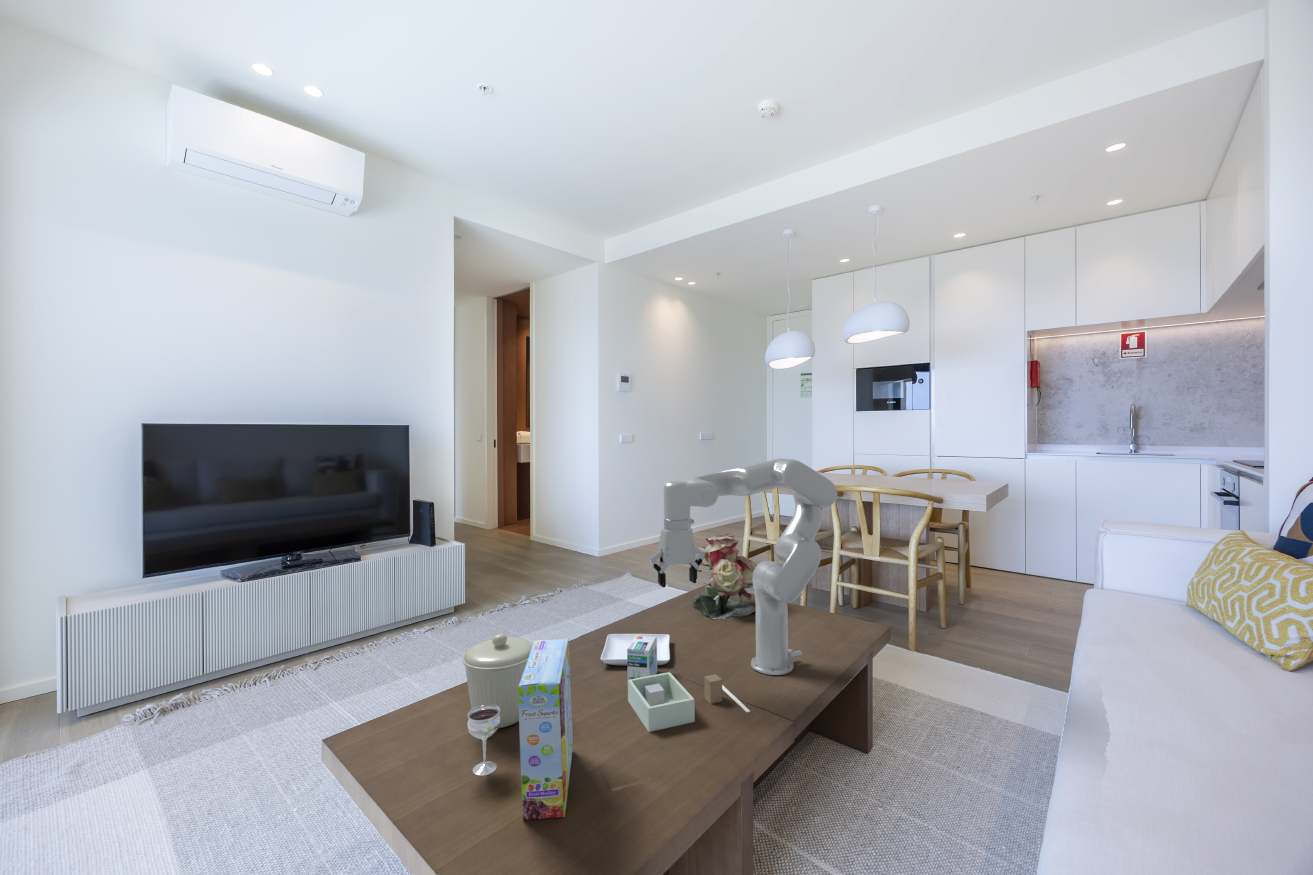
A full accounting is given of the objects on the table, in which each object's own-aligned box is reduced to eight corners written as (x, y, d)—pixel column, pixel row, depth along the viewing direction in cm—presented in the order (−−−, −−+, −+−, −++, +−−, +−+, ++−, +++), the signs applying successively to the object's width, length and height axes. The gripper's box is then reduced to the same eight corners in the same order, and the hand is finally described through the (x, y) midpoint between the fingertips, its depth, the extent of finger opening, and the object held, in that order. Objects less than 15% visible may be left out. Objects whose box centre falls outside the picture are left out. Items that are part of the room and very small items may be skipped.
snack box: (534, 752, 121) (533, 638, 120) (574, 750, 121) (572, 636, 121) (518, 822, 99) (515, 683, 99) (566, 819, 100) (563, 681, 100)
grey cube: (658, 698, 144) (658, 683, 143) (664, 705, 140) (664, 689, 140) (644, 700, 142) (644, 685, 142) (650, 708, 138) (649, 692, 138)
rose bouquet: (716, 624, 199) (715, 543, 199) (684, 601, 226) (683, 530, 226) (775, 615, 208) (774, 537, 208) (737, 594, 235) (736, 525, 235)
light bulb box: (650, 689, 150) (649, 650, 150) (626, 687, 151) (626, 648, 151) (657, 672, 160) (657, 636, 160) (635, 670, 162) (635, 634, 161)
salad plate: (669, 642, 183) (669, 632, 183) (670, 670, 162) (669, 659, 162) (607, 642, 184) (607, 632, 184) (599, 670, 163) (599, 659, 163)
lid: (679, 693, 148) (678, 669, 148) (720, 685, 153) (719, 661, 152) (705, 724, 133) (705, 696, 132) (750, 713, 137) (750, 687, 137)
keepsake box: (628, 702, 143) (627, 679, 142) (670, 693, 147) (669, 671, 147) (648, 733, 128) (648, 708, 128) (694, 723, 132) (694, 698, 132)
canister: (551, 705, 141) (549, 625, 141) (510, 743, 124) (509, 652, 124) (492, 695, 147) (491, 618, 147) (446, 730, 130) (445, 643, 130)
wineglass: (462, 777, 112) (461, 720, 112) (475, 758, 119) (474, 704, 119) (494, 778, 112) (493, 721, 112) (505, 758, 119) (504, 704, 118)
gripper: (697, 520, 161) (698, 577, 161) (644, 524, 154) (645, 584, 155) (710, 524, 154) (710, 583, 155) (654, 529, 148) (655, 591, 148)
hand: (677, 584), depth 155 cm, fingers open, 9 cm apart
